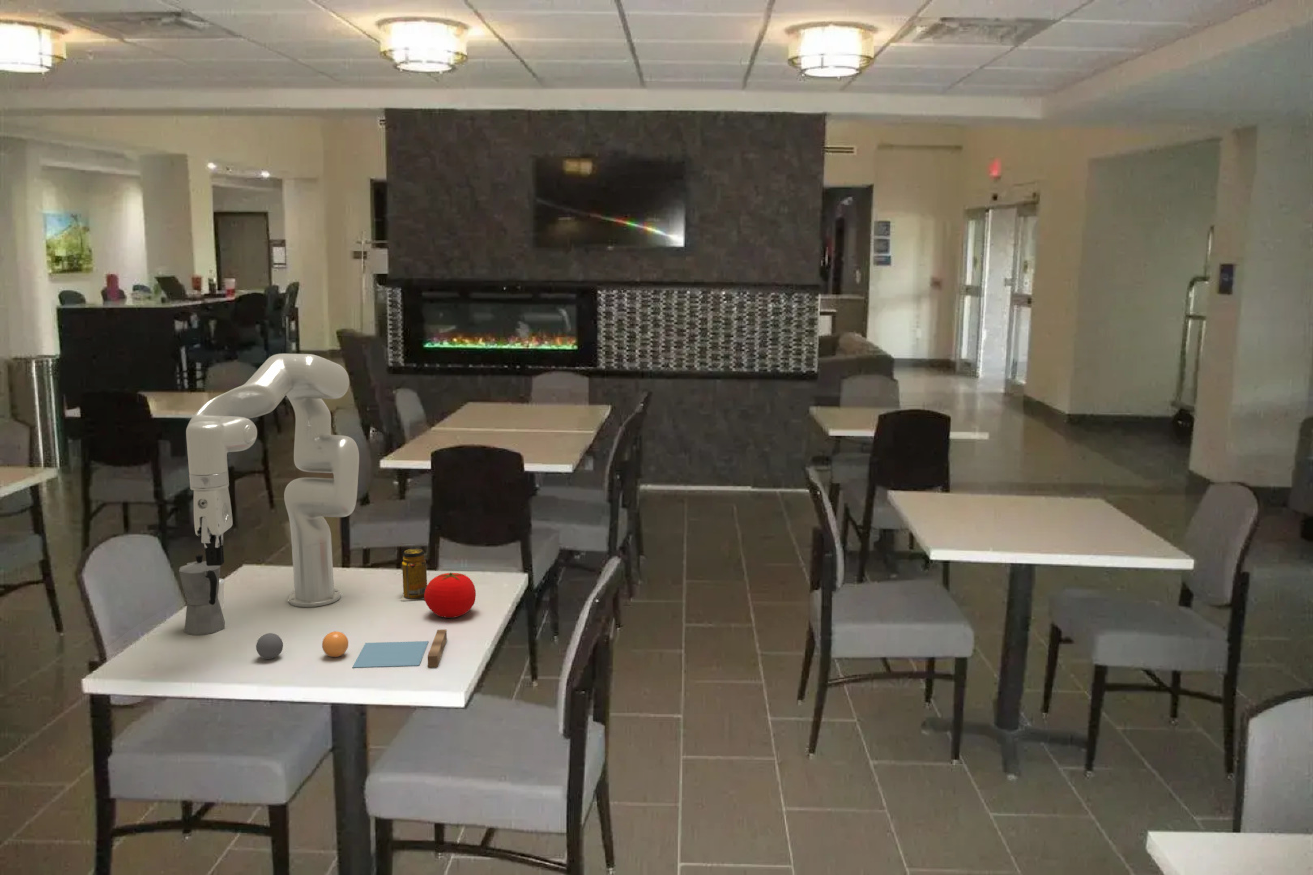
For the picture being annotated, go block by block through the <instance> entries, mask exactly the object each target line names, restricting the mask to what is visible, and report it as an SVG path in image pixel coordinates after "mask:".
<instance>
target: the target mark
mask: <svg viewBox="0 0 1313 875" xmlns="http://www.w3.org/2000/svg"><path fill="white" fill-rule="evenodd" d="M428 644H429V641H428V640H420V641H418V640H417V641H416V640H415V641H414V640H413V641H384V642H383V641H381V642H365V643H364V645H363V647H362V649H361V650H360V652H359V654H358V656H357V658H356V660H355V661H354V663H353V665H352V669H357V668H358V669H363V668H367V669H368V668H392V667H393V668H394V667H395V668H396V667H399V668H400V667H420V665H421V663H422V660H423V656H424V654H425V651H426V650H427V646H428Z"/></svg>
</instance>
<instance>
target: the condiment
mask: <svg viewBox="0 0 1313 875" xmlns="http://www.w3.org/2000/svg"><path fill="white" fill-rule="evenodd" d="M402 553H403V557H402V560H403V561H402V562H401V568H402V587H403V589H402V590H403V592H402V596H401V599H400V600H401V602H402V601H409V602H410V601H420V600H425V599H424V593H425V590H426V587H427V585H428V577H427V576H428V573H427V562H426V559H425V557H426V556H425V551H424V550H423V549H421V548H420V549H419V548H410V549H406V550H404V552H402Z"/></svg>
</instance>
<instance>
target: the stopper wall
mask: <svg viewBox="0 0 1313 875" xmlns="http://www.w3.org/2000/svg"><path fill="white" fill-rule="evenodd" d="M447 631H448V630H447V629H437V630H436V632H435V635H434V639H433V641H432V644H431V646H430V648H429V651H428V654H427V668H438V667H439V663H440V661H441V658H442V655H443V652H444V649H445V646H446V643H447V642H448V638H447V637H448V634H447V633H448V632H447Z"/></svg>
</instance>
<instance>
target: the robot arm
mask: <svg viewBox="0 0 1313 875" xmlns="http://www.w3.org/2000/svg"><path fill="white" fill-rule="evenodd" d="M349 387H350V377H349V373H348V372H347V370H346V369H345V367H343V366H342V365H341V364H339V363H336V362H334V361H332V360H329V359H328V358H324V357H323V356H319V355H315V354H313V353H276V354H273V355H271V356H269V357H268V358H267V359H266V360H265V361H264V362H263V363H262V365H260V366H259V368H258V369H257V370H256V371H255V372H254V373H253V374H252V376H251V377H250V378H249V379H248V380H247V381H246V382H245V383H244V384H242V385H240V386H237V387H235V388H232V389H230V390H228V391H226V392H224V393H221V394H220V395H217V396H215V397H214V398H213V397H212V398H211V399H210V400H208V401H207V402H205V403H204V404H202V406H201V407H200V408H199V409H198V410H197V411H196V412H195V413H194V414H193V416H192V417H191V418H190V420H189V422H188V424H187V427H186V429H185V430H186V431H185V435H186V436H185V437H186V438H185V439H186V447H187V449H186V450H187V460H188V461H187V462H188V472H189V474H188V476H189V488H190V489H189V490H191V491H193V524H194V526H193V527H194V532H195V535H196V537H197V536H198V537H201V538H200V539H201V540H200V541H201V544H203V545H204V549H205V550H204V551H205V552H204V553H205V561H206V565H207V566H220V567H221V566H222V565H223V564H225V555H224V554H225V553H224V533H226V532H227V531H228V530H230V528H232V526H233V525H234V524H233V513H232V504H231V497H230V492H229V491H230V490H229V486H230V482H229V481H230V479H229V467H228V456H227V455H228V453H234V452H241V451H245V450H246V451H247V450H248V449H250V448H251V447H252V446H253V445H254V444H255V442H256V441H257V437H258V428H257V426H256V425H255V423H254V422H253V421H252V420H251V419H253V418H257V417H261V416H264V415H267V414H270V413H272V412H273V411H274V410H275V409H276V408H277V407H278V405H279V404H280V403H281V402H282V401H283V399H285V397H287V399H288V401H289V402H290V404H291V406H292V408H293V412H294V415H295V428H294V429H295V430H294V447H293V463H294V465H295V467H296V469H298V470H300V471H302V472H307V473H323V474H333V478H326V477H325V478H324V477H299V478H296V479H292V480H291V481H290V482H289V483H287V485H286V487H285V488H284V494H283V496H284V497H283V499H284V504H285V509H286V511H287V515H288V520H289V526H290V539H291V540H290V541H291V552H292V553H291V555H292V568H293V569H292V570H293V571H292V572H293V584H294V585H293V586H294V592H293V593H291V594H290V595H289V597H288V603H289V604H290V605H291V606H295V607H300V608H301V607H302V608H312V607H313V608H314V607H315V608H316V607H322V606H326V605H329V604H333V603H336V602H337V601H338V600H340V598H341V597H342V595H341V594H342V593H341V591H340V590H339V589H336V588H335V584H334V583H335V582H334V581H335V580H334V565H333V548H332V547H333V546H332V533H331V528H330V526H329V525H330V524H328V522H327V520H326V519H325V518H326V517H329V518H345V517H348V516H350V515H352V514H353V512H354V510H355V509H356V506H357V505H356V504H357V498H358V487H359V484H358V483H359V481H358V480H359V472H360V471H359V470H360V469H359V467H360V452H359V447H358V445H357V443H356V441H355V439H354V438H352V437H350V436H347V435H342V434H341V435H340V434H331V433H332V415H331V411H330V410H329V407H328V406H327V404H326V403H325V401H324V399H325V400H326V399H327V400H338V399H341V398H343V397H344V396H345V395H346V393H347V392H348V390H349Z"/></svg>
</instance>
